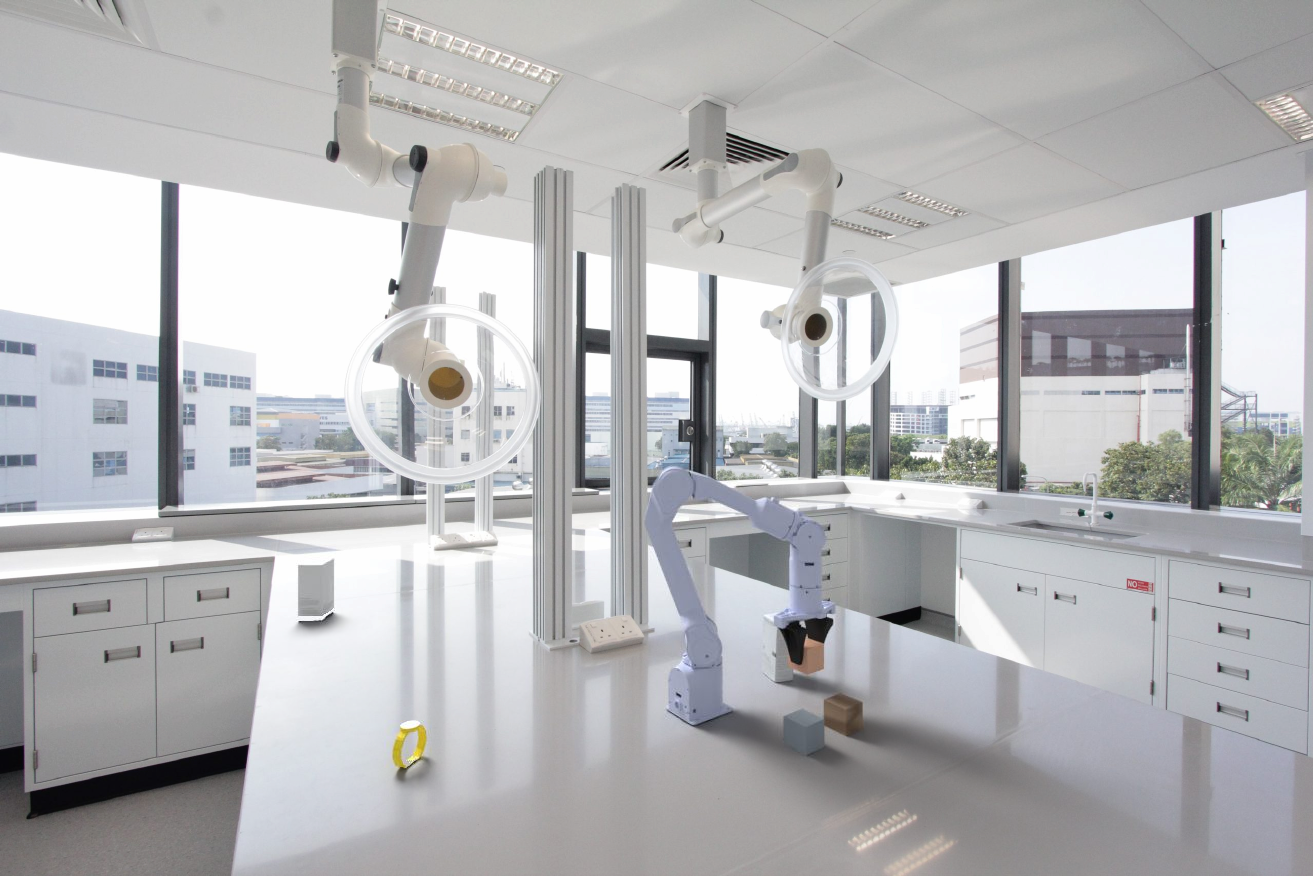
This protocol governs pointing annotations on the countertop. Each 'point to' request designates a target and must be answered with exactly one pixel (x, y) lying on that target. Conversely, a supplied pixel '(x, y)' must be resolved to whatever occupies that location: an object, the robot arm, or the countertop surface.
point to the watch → (404, 730)
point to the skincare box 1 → (316, 587)
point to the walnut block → (843, 714)
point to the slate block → (804, 731)
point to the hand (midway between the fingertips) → (805, 659)
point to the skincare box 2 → (775, 652)
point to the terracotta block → (810, 658)
